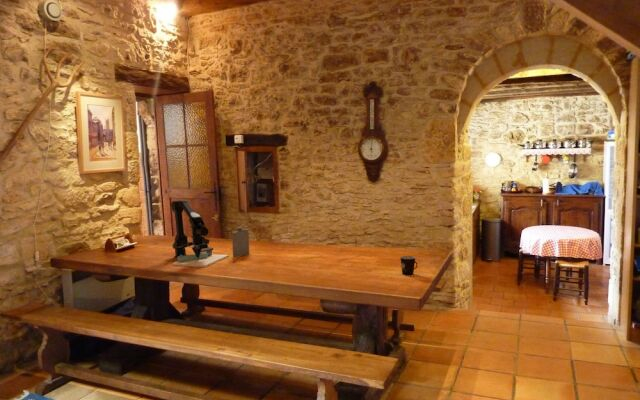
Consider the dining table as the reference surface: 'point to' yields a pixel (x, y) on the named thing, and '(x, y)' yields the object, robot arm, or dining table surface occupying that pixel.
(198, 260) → the cream base plate
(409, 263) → the coffee mug
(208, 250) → the iron keeper
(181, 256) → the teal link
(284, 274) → the dining table surface
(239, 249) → the hip flask
